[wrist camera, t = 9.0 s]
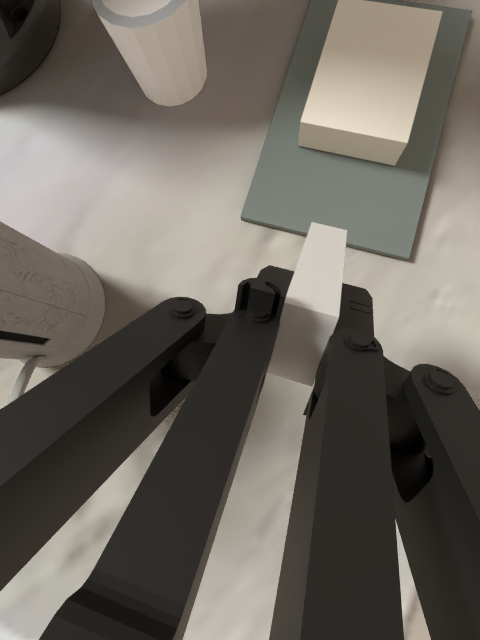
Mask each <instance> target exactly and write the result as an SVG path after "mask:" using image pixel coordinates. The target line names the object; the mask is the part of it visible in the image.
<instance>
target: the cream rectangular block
mask: <svg viewBox="0 0 480 640" xmlns="http://www.w3.org/2000/svg"><path fill="white" fill-rule="evenodd" d="M442 12H443V11H436V10H429V9H422V8H415V7H408V6H401V5H394V4H387V3H379V2H372V1H365V0H338V3H337V6H336V9H335V12H334V15H333V19H332V22H331V25H330V28H329V31H328V35H327V38H326V41H325V44H324V47H323V51H322V54H321V57H320V60H319V63H318V67H317V70H316V73H315V76H314V79H313V83H312V86H311V89H310V92H309V95H308V99H307V102H306V105H305V108H304V111H303V115H302V118H301V121H300V130H299V140H298V146H302V147H307V148H312V149H317V150H321V151H326V152H331V153H336V154H341V155H345V156H350V157H355V158H360V159H365V160H369V161H374V162H379V163H384V164H389V165H393V166H395V164H396V163H397V161H398V159H399V157H400V156H401V154H402V152H403V150H404V148H405V147H406V145H407V143H408V140H409V136H410V132H411V128H412V125H413V121H414V117H415V113H416V110H417V106H418V102H419V98H420V95H421V91H422V87H423V83H424V80H425V76H426V72H427V68H428V65H429V61H430V57H431V53H432V50H433V46H434V42H435V38H436V35H437V31H438V27H439V23H440V20H441V16H442Z"/></svg>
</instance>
